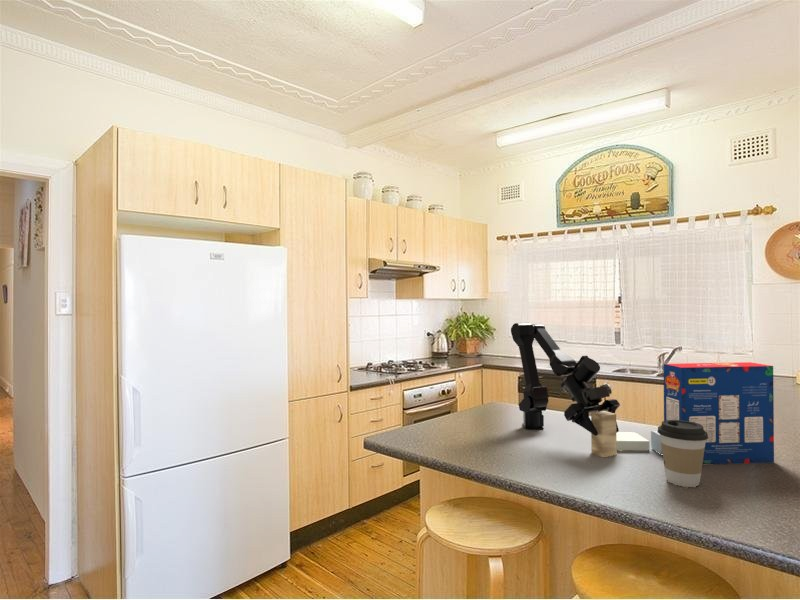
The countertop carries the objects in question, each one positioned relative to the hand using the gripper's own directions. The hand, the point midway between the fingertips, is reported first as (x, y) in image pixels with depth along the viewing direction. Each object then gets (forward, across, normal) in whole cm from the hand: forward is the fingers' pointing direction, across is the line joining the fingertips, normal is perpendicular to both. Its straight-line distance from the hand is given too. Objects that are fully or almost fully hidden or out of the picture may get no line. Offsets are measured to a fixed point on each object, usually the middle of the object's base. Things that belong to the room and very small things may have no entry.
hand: (607, 433), depth 142 cm
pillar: (+4, 0, +6) cm, 7 cm away
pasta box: (+16, +27, -6) cm, 32 cm away
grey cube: (+8, +19, +1) cm, 21 cm away
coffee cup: (+21, +1, -12) cm, 24 cm away
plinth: (+2, +13, +8) cm, 15 cm away
